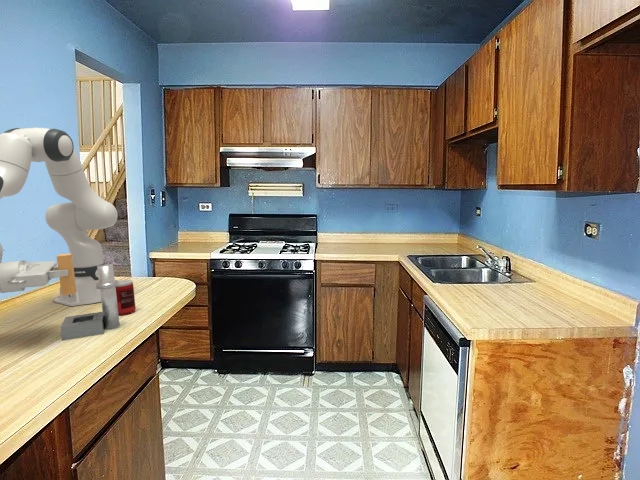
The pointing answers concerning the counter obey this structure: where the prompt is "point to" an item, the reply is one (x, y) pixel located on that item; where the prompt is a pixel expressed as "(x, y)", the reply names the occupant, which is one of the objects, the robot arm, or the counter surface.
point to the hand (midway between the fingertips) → (69, 270)
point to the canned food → (125, 297)
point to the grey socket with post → (99, 320)
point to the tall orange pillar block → (68, 281)
